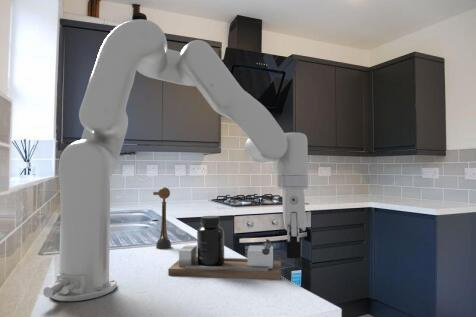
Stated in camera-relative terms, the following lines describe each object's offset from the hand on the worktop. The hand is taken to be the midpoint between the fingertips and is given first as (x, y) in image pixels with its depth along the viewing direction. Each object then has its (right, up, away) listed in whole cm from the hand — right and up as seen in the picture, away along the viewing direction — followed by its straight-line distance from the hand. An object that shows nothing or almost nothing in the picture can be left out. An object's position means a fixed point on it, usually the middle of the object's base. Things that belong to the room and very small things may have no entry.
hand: (293, 257), depth 79 cm
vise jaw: (-8, -2, +1) cm, 8 cm away
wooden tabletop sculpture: (-39, -6, +28) cm, 48 cm away
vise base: (-17, -4, +2) cm, 17 cm away
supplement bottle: (-21, -3, +2) cm, 21 cm away
